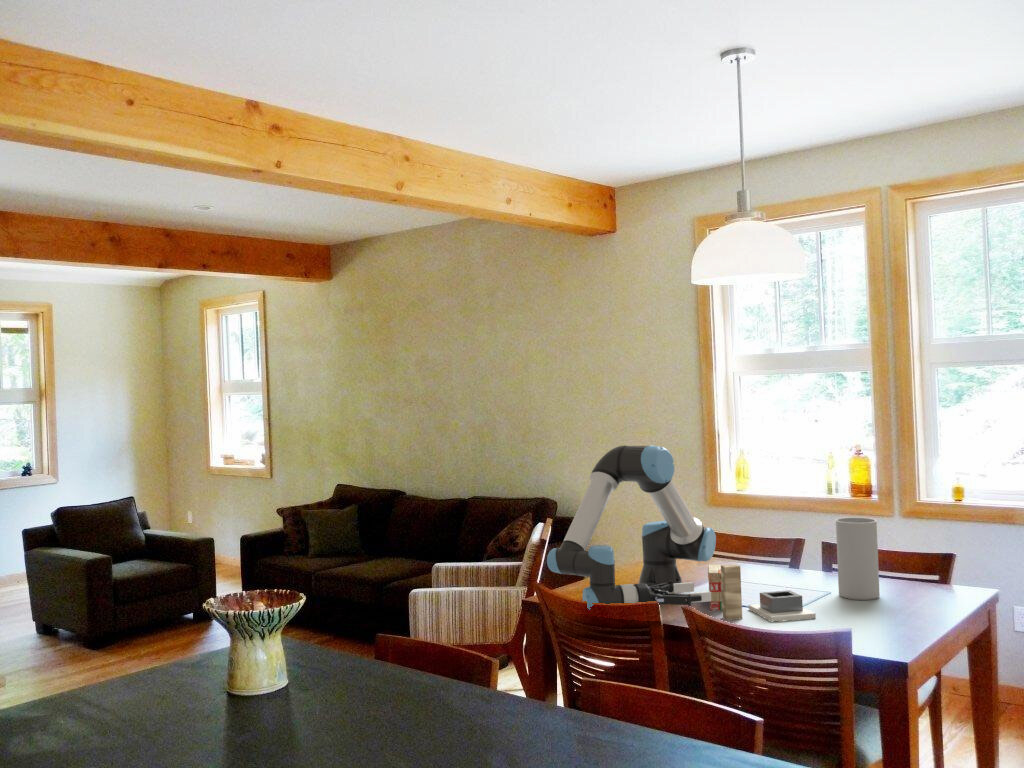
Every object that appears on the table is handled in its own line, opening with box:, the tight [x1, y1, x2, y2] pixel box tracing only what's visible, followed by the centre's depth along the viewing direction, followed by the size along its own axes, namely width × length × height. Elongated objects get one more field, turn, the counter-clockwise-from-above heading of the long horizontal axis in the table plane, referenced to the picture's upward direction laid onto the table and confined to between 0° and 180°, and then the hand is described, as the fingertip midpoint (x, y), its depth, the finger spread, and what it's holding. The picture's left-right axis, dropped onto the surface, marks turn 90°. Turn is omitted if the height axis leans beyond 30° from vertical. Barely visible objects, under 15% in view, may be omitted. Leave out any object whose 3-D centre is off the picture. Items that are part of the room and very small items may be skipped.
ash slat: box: [720, 563, 743, 621], centre depth 269 cm, size 3×5×16 cm, turn 100°
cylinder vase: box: [835, 516, 881, 601], centre depth 291 cm, size 12×12×25 cm
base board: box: [748, 603, 817, 622], centre depth 272 cm, size 16×14×2 cm
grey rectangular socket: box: [759, 589, 804, 613], centre depth 272 cm, size 8×10×4 cm
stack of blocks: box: [707, 564, 722, 612], centre depth 289 cm, size 21×6×12 cm, turn 168°
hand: (702, 591), depth 267 cm, fingers open, 13 cm apart
